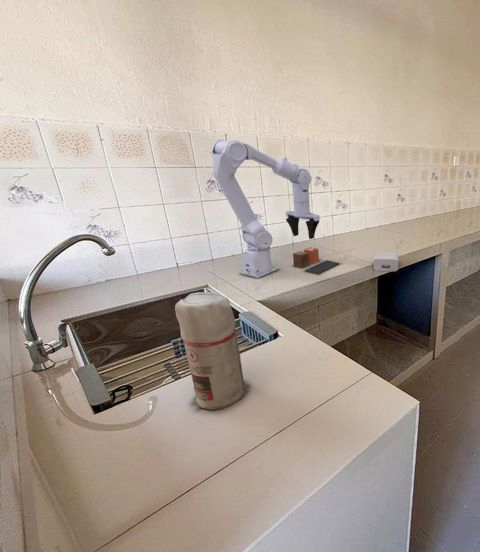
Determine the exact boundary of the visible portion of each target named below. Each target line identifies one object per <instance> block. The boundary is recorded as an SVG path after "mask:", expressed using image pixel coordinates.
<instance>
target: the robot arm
mask: <svg viewBox="0 0 480 552" xmlns="http://www.w3.org/2000/svg"><path fill="white" fill-rule="evenodd" d="M210 154H211V156H212V174H213V177H214V179H215V180H216V182H217V184H218V186H219V187H220V189H221V192H222V193H223V194H224V196H225V198H226V200H227V202H228V203H229V205H230V207H231V208H232V211H233V212H234V214H235V216H236V218H237V219H238V221H239V223H240V230H241V233H242V239H243V241H244V242H245V243H246V248H247V249H246V250H245V251H243V252H242V253H241V254H240V262H241V269H242V271H241V273H240V274H242V275H245V276H249V277H253V278H257V279H258V278H261V277H263V276H266V275H268V274H271V273H273V272H276V271H278V268H277V267H273V266H272V257H271V245H272V244H273V236H272V234H271V233H270V232H269V231H268V230H267V229H266V228H265V226H264V225H263V224H262V223H261V222H260V221H259V220H258V218H257V217H256V214H255V213H254V211H253V209H252V207H251V205H250V203H249V201H248V199H247V197H246V196H245V194H244V192H243V189H242V188H241V185H240V183H239V182H238V179H236V176H235V175H236V173H237V171H238V169H239V167H241V165H242V164H243V163H244V162H245V160H246V161H250V160H251V161H253V162H256V163H258V164H261V165H263V166H266V167H268V168H270V169H271V170H272V173H273V174H274V175H277V176H279V177H281V178H283V179H285V180H288V181H289V182H290V183H291V186H292V187H291V188H292V196H293V197H292V200H293V210H287V211H285V221H286V223H287V224H288V226H289V228H290V230H291V233H292V235H293V237H297V236H299V234H300V233H299V225H300V219H301V220H306V221H305V224H306V227H307V234H308V239H309V240H312V239H315V235H316V230H317V228H318V226H319V224H320V220H321V218H320V215H319V214H316V213H312V212H311V208H310V207H311V205H310V204H311V203H310V184H311V182H312V180H313V179H312V178H313V177H312V176H311V173H310V172H309V170H308V169H306V168H302V167H299V164H296V163H292V162H290V161H288V158H286V157H277V158H274V157H272V156H271V155H268V154H267V153H264V152H263V151H261V150H260V149H257V148H255V147H254V146H251V145H249V144H248V143H243V142H241V141H240V140H236V139H233V140H232V139H231V140H226V139H218V140H216V141H215V143H214V144H213V146H212V148H211V151H210Z"/></svg>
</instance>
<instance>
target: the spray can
mask: <svg viewBox="0 0 480 552" xmlns="http://www.w3.org/2000/svg"><path fill="white" fill-rule="evenodd" d="M174 310H175V317H176V319H177V321H178V324H179V329H180V337H181V339H182V341H183V345H184V349H185V354H186V358H187V362H188V367H189V370H190V375H191V381H192V382H193V389H194V393H195V397H196V398H195V404H196V405H197V406H198V407H199V408H200V409H201V408H202V409H206V410H219V409H222V408H226V407H229V406H231V405H233V404H234V403H236V402H237V401H238V400H240V399H241V398H243V397H244V396H245V394H246V391H247V386H246V384H245V379H244V372H243V366H242V362H241V361H242V359H241V353H240V348H239V342H238V335H237V329H236V319H235V316H234V312H233V309H232V305H231V301H230V300H229V297H227V296H225V295H221V294H220V293H218V292H214V291H213V292H211V291H208V292H207V291H206V292H205V291H203V292H202V291H198V292H193V293H190V294H188V295H187V296H186V297H185V298H181V299H180V300H179V301H177V303H175V305H174Z"/></svg>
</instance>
